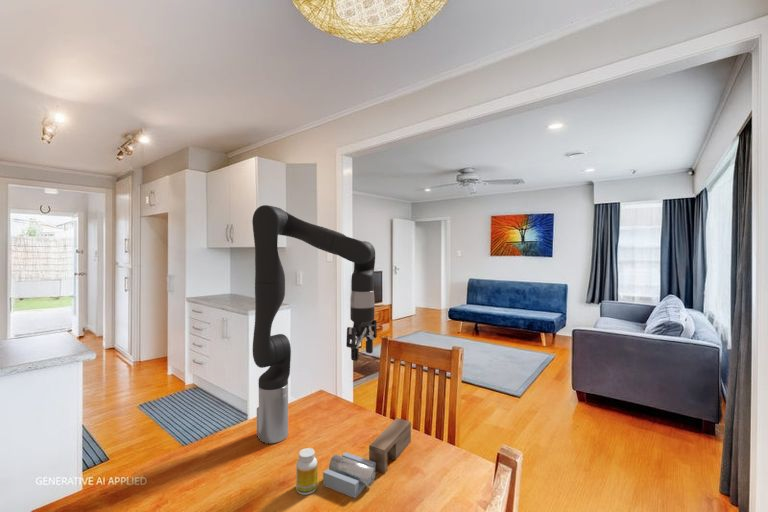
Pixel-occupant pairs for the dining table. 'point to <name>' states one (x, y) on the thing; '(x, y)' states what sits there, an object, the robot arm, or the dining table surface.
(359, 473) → the axle
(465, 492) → the dining table surface
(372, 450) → the beam
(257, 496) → the dining table surface
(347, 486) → the cradle
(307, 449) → the supplement bottle
